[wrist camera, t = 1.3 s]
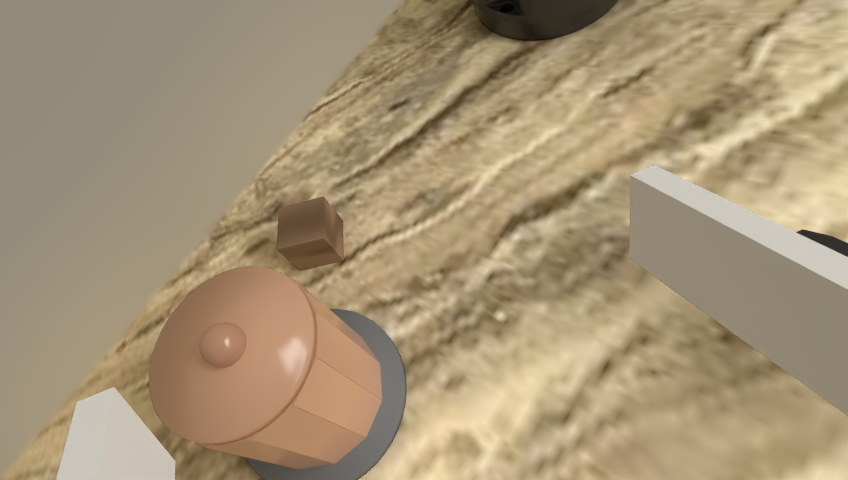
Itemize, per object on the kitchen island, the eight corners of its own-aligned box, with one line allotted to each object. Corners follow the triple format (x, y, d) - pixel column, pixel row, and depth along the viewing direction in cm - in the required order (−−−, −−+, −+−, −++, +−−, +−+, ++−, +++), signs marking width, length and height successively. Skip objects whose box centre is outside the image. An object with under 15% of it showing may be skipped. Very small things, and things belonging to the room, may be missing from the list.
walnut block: (301, 231, 46) (279, 208, 43) (343, 221, 46) (323, 196, 42) (300, 271, 44) (276, 249, 41) (344, 260, 44) (323, 238, 40)
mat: (248, 330, 43) (243, 327, 42) (398, 297, 40) (395, 293, 40) (235, 507, 36) (229, 506, 35) (415, 479, 34) (411, 478, 33)
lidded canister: (260, 342, 41) (145, 274, 30) (377, 317, 39) (297, 236, 29) (251, 477, 36) (110, 452, 25) (385, 455, 34) (293, 418, 24)
